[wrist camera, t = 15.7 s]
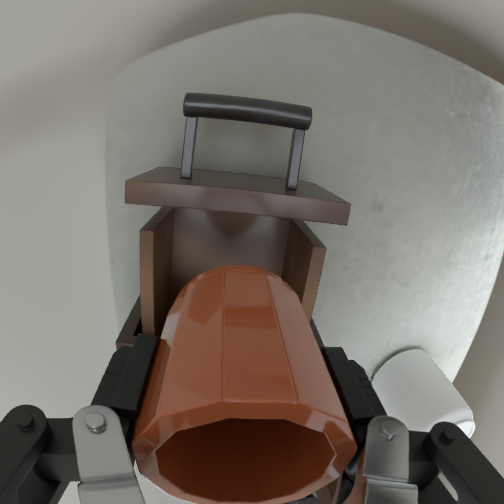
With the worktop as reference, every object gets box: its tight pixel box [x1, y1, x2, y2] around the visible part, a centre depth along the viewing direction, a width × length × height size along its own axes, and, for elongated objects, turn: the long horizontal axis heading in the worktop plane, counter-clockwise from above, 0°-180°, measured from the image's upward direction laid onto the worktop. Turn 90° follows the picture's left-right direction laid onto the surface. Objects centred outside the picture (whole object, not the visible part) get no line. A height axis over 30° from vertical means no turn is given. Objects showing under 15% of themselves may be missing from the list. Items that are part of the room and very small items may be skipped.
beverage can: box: [371, 349, 475, 438], centre depth 27 cm, size 8×8×12 cm
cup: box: [131, 265, 358, 504], centre depth 10 cm, size 6×6×7 cm
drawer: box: [125, 93, 351, 338], centre depth 21 cm, size 20×12×8 cm, turn 173°
